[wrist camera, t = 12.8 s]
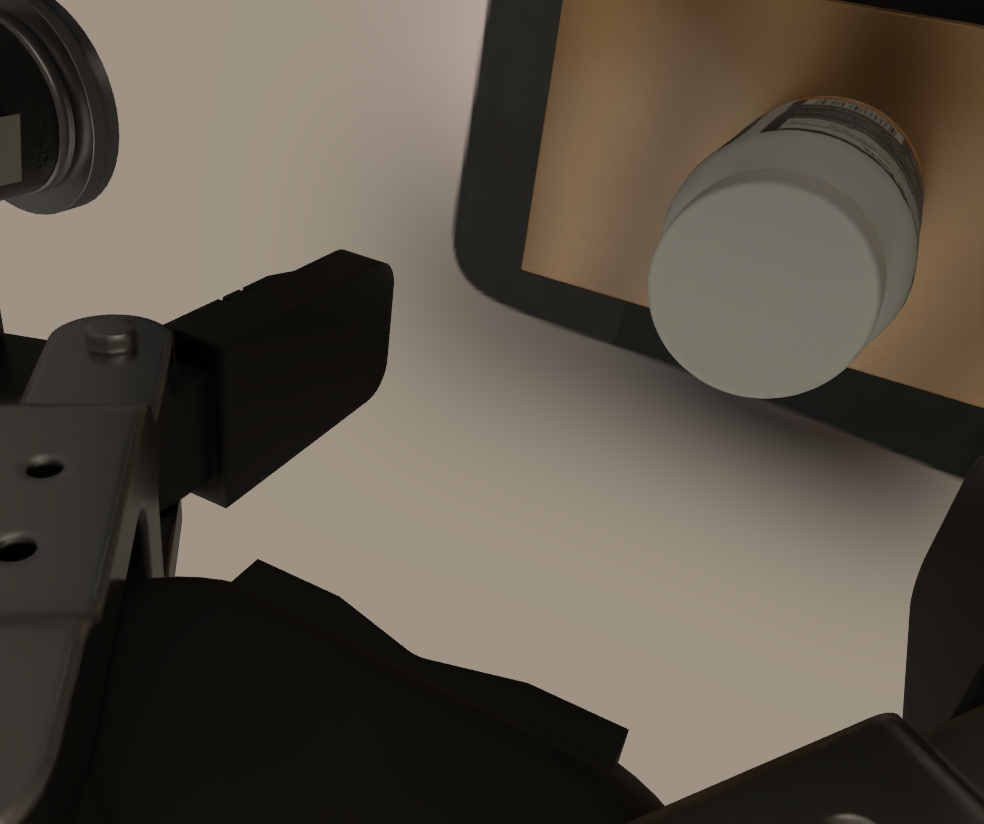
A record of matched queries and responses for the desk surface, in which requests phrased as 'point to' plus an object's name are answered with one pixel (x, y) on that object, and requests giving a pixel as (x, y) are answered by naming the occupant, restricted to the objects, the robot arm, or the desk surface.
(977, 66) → the shelf
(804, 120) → the pill bottle
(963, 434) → the desk surface
